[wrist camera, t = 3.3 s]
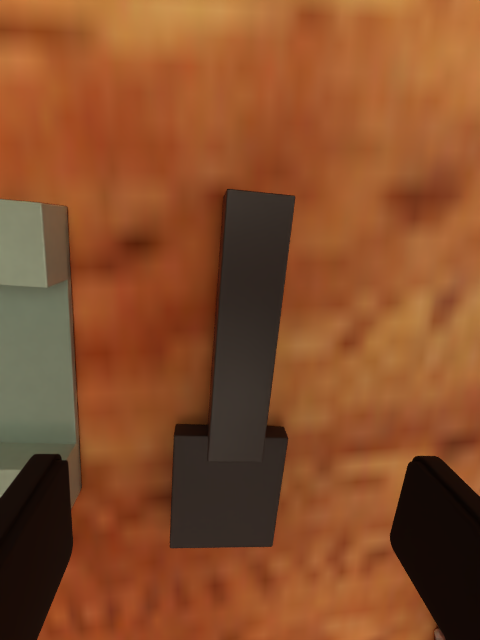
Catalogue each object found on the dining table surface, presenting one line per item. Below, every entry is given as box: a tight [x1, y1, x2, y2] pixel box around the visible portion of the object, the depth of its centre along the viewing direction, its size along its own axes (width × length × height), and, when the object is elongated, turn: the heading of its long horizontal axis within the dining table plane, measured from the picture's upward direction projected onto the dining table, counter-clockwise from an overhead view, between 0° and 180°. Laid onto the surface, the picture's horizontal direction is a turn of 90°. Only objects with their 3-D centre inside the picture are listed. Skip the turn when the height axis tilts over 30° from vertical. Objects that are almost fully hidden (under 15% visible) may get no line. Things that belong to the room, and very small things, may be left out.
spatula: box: [170, 189, 295, 548], centre depth 15 cm, size 18×6×3 cm, turn 175°
